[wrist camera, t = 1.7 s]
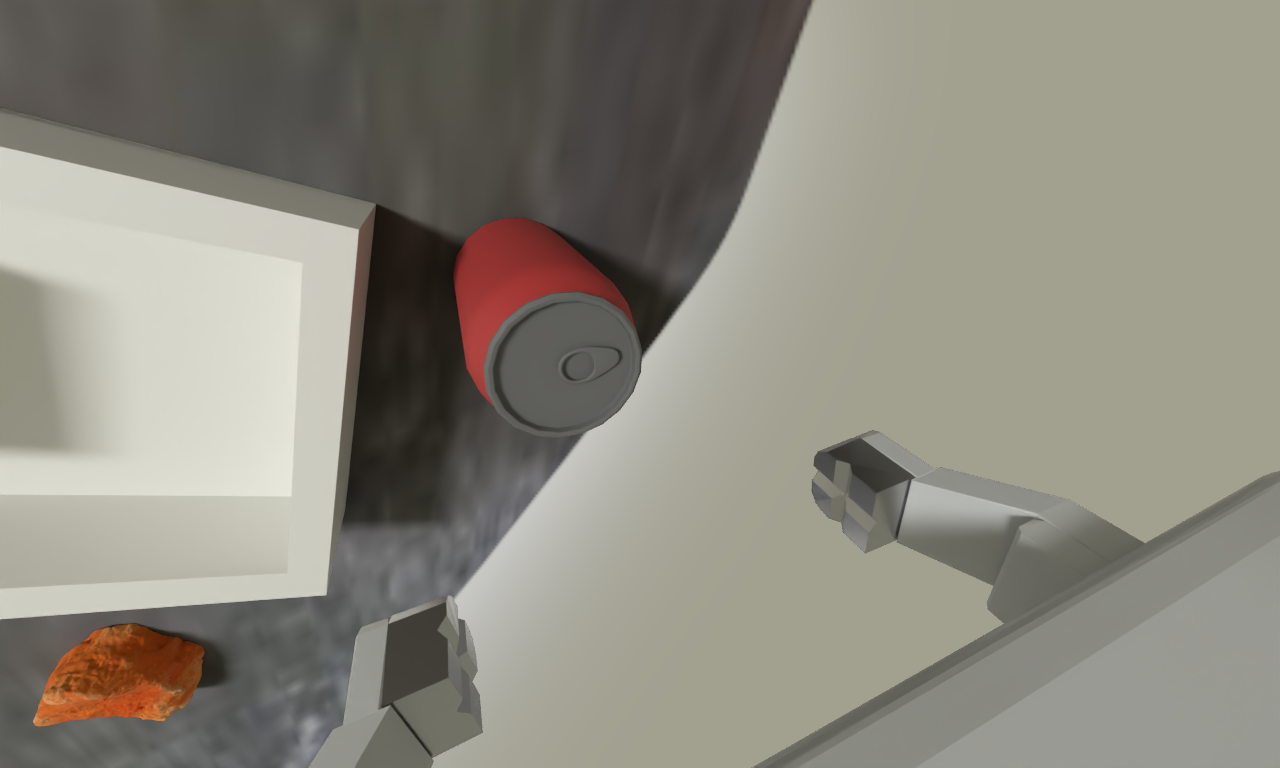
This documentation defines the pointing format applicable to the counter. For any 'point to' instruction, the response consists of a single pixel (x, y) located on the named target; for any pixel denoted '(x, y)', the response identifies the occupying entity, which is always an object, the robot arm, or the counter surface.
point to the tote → (170, 375)
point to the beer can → (543, 330)
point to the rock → (122, 676)
